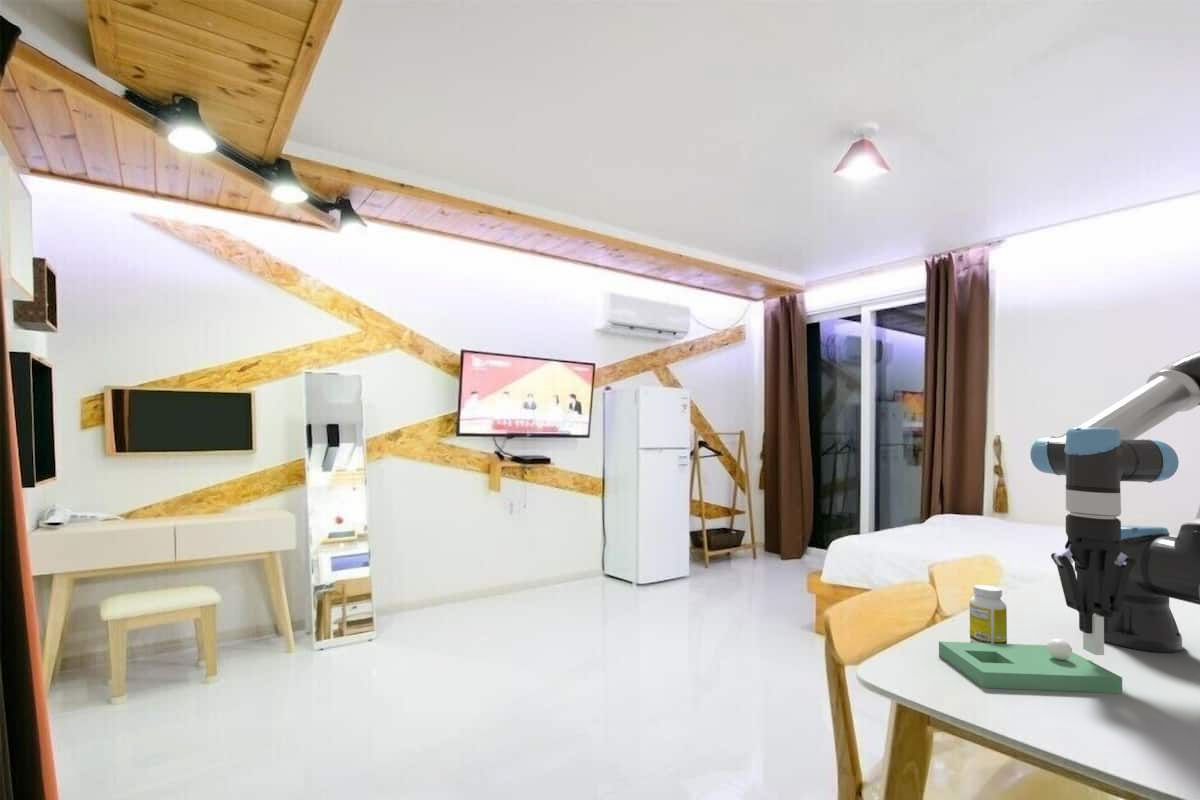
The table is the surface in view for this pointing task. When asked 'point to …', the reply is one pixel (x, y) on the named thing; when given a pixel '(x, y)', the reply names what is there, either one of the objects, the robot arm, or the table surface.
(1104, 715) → the table surface
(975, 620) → the pill bottle
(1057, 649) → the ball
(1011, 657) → the green
